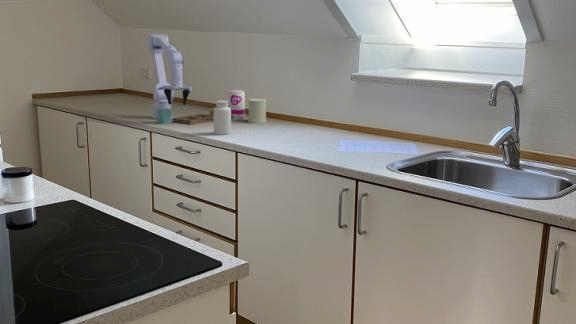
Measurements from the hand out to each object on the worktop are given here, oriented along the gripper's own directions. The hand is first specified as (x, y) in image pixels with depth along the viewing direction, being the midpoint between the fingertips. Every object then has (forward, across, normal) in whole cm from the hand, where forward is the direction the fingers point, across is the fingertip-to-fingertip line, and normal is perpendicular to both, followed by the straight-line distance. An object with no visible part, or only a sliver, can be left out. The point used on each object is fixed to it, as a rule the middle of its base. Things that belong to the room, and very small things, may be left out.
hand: (177, 104), depth 306 cm
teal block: (+10, -7, 0) cm, 12 cm away
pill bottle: (+10, +29, -23) cm, 38 cm away
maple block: (+7, +13, +20) cm, 25 cm away
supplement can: (+10, +26, +20) cm, 34 cm away
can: (+10, +38, +14) cm, 42 cm away
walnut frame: (+10, +7, +9) cm, 15 cm away
